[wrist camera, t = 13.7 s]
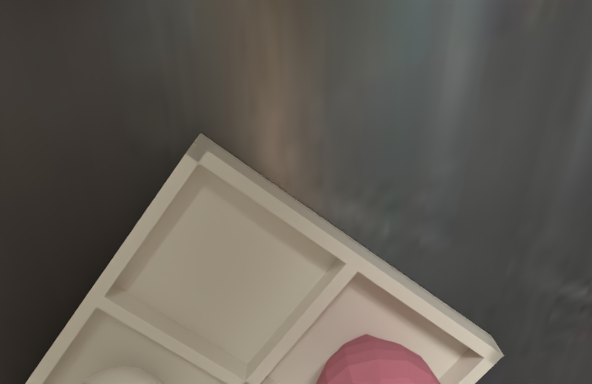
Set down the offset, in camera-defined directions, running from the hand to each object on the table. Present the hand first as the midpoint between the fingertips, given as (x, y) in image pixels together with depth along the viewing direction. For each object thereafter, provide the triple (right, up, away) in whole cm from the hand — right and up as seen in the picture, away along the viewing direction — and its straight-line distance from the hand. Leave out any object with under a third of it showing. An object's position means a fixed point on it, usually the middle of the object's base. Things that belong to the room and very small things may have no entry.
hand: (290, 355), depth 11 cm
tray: (-4, -10, +29) cm, 31 cm away
